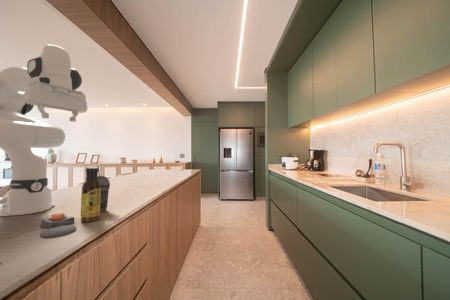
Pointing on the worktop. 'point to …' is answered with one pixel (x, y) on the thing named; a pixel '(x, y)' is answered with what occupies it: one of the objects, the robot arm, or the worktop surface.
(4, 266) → the worktop surface
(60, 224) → the button housing
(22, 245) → the worktop surface
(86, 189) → the sauce bottle
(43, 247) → the worktop surface
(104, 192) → the beverage cup
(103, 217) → the worktop surface
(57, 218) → the button
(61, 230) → the mat
